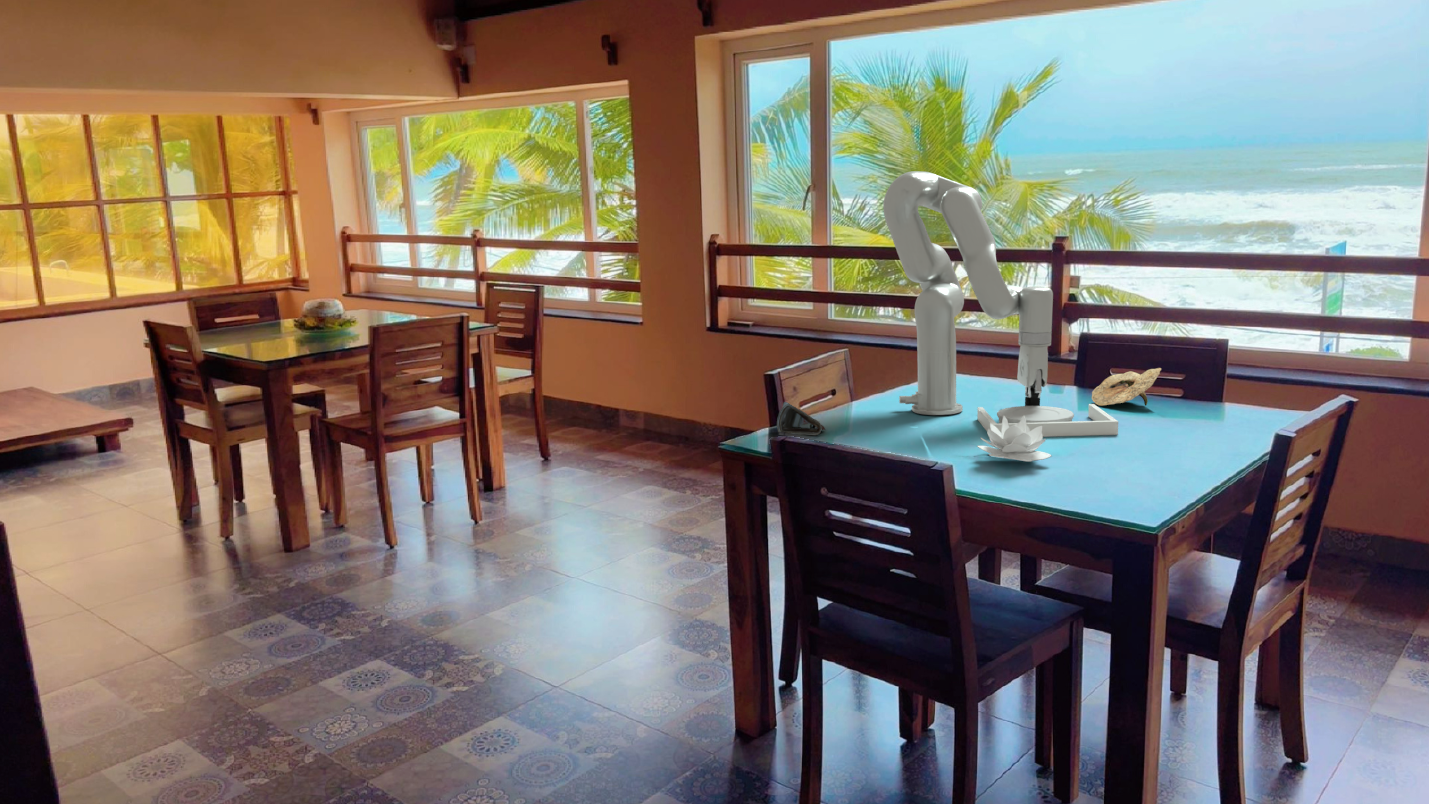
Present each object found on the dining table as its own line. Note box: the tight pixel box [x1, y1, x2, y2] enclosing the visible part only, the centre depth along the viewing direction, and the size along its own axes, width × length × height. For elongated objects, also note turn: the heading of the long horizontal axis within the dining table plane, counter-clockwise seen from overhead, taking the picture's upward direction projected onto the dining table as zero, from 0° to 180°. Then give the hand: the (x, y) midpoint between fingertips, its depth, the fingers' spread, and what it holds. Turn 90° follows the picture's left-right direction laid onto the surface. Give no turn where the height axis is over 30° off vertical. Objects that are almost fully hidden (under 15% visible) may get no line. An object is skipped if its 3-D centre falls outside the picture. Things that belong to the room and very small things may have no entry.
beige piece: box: [1091, 367, 1162, 406], centre depth 266 cm, size 18×14×8 cm
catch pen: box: [977, 403, 1119, 438], centre depth 246 cm, size 27×20×3 cm
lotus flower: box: [977, 416, 1053, 462], centre depth 219 cm, size 14×15×9 cm
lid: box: [996, 405, 1075, 424], centre depth 247 cm, size 17×20×3 cm
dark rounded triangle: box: [776, 401, 826, 436], centre depth 251 cm, size 10×7×12 cm
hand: (1032, 413), depth 258 cm, fingers closed
